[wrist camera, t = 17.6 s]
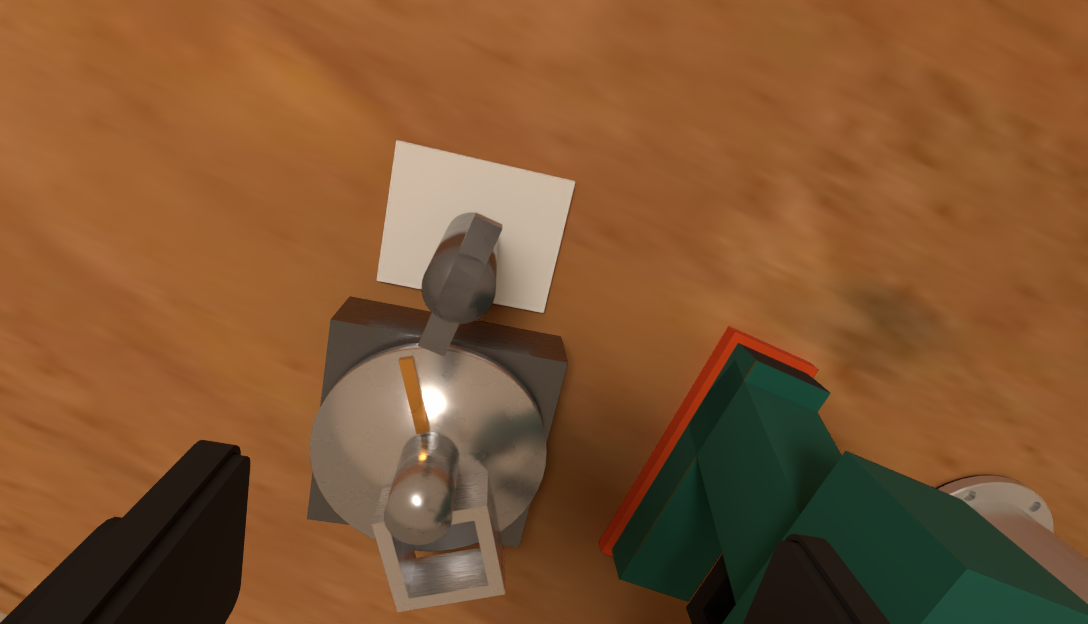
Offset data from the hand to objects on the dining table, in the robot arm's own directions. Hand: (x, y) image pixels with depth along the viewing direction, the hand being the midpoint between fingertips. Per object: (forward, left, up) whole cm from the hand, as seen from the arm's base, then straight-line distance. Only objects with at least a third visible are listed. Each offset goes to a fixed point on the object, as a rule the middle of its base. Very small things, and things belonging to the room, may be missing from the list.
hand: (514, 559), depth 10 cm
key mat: (+2, -1, -25) cm, 25 cm away
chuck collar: (+2, +12, -21) cm, 24 cm away
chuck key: (+2, 0, -24) cm, 24 cm away
